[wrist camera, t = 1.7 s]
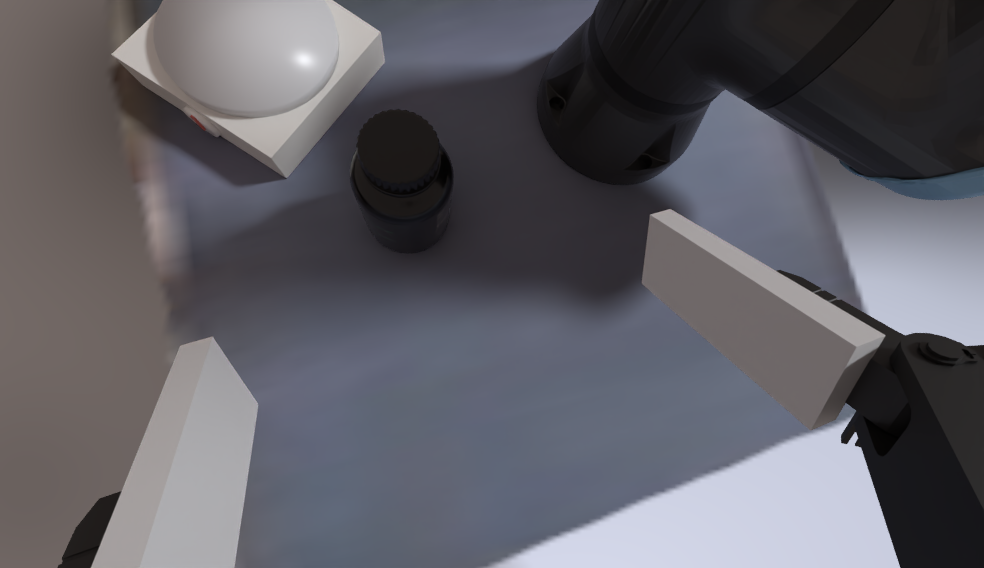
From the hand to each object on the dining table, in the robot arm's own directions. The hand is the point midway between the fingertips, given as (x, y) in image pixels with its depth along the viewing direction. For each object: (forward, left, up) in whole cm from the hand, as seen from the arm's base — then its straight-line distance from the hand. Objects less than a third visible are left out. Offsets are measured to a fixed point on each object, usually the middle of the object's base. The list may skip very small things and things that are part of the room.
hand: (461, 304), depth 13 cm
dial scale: (-12, -25, -22) cm, 36 cm away
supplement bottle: (-8, -8, -23) cm, 25 cm away
